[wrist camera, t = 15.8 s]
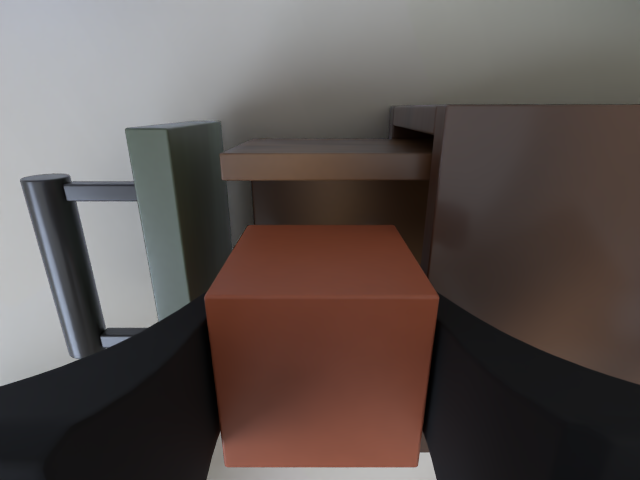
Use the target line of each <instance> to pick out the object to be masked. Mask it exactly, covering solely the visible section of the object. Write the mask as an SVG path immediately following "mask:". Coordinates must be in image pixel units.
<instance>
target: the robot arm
mask: <svg viewBox="0 0 640 480" xmlns="http://www.w3.org/2000/svg"><path fill="white" fill-rule="evenodd" d="M436 292H437V291H436ZM206 293H207V291H206V292H205V293H203V294H202V295H200V296H199V297H197V298H196V299H194V300H193V301H191V302H190V303H188V304H187V305H185V306H184V307H182V308H181V309H179V310H177V311H176V312H174V313H172V314H171V315H169V316H167V317H166V318H164V319H162V320H161V321H159V322H157V323H156V324H154V325H152V326H151V327H149V328H147V329H145V330H143V331H142V332H140V333H138V334H136V335H134V336H132V337H130V338H128V339H126V340H124V341H122V342H119V343H117V344H115V345H113V346H111V347H109V348H106V349H104V350H102V351H99V352H97V353H94V354H92V355H89V356H87V357H84V358H82V359H79V360H77V361H74V362H72V363H69V364H67V365H64V366H62V367H59V368H56V369H53V370H50V371H47V372H44V373H42V374H39V375H36V376H33V377H29V378H26V379H23V380H20V381H17V382H14V383H10V384H7V385H4V386H0V480H206V479H207V475H208V471H209V467H210V463H211V459H212V455H213V452H214V449H215V445H216V442H217V439H218V436H219V433H220V422H219V414H218V406H217V398H216V390H215V382H214V374H213V365H212V357H211V349H210V341H209V333H208V325H207V317H206V309H205V301H204V297H205V294H206ZM437 294H438V295H439V304H438V312H437V320H436V328H435V336H434V343H433V351H432V359H431V367H430V375H429V383H428V391H427V399H426V406H425V414H424V422H423V430H422V431H423V434H424V436H425V439H426V442H427V445H428V449H429V452H430V455H431V458H432V462H433V466H434V470H435V474H436V478H437V480H640V385H639V384H635V383H632V382H629V381H626V380H622V379H619V378H616V377H613V376H609V375H606V374H604V373H601V372H598V371H595V370H592V369H589V368H586V367H583V366H581V365H578V364H575V363H573V362H570V361H568V360H565V359H562V358H560V357H557V356H554V355H552V354H550V353H547V352H545V351H542V350H540V349H538V348H536V347H533V346H531V345H529V344H527V343H525V342H523V341H521V340H518V339H516V338H514V337H512V336H510V335H508V334H506V333H504V332H502V331H500V330H499V329H497V328H495V327H493V326H491V325H490V324H488V323H486V322H484V321H483V320H481V319H479V318H477V317H476V316H474V315H472V314H471V313H469V312H467V311H466V310H464V309H463V308H461V307H460V306H458V305H456V304H455V303H453V302H452V301H450V300H449V299H447V298H446V297H444V296H443V295H441V294H440V293H438V292H437Z"/></svg>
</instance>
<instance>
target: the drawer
mask: <svg viewBox="0 0 640 480" xmlns="http://www.w3.org/2000/svg"><path fill="white" fill-rule="evenodd" d="M125 133H126V139H127V144H128V150H129V156H130V161H131V167H132V173H133V179H134V181H73V182H71V178H70V175H68V174H42V175H34V176H28V177H24V178H22V179H20V182H21V186H22V189H23V193H24V196H25V200H26V203H27V207H28V210H29V214H30V217H31V221H32V224H33V228H34V231H35V235H36V239H37V242H38V246H39V249H40V253H41V256H42V260H43V263H44V267H45V270H46V274H47V277H48V281H49V284H50V288H51V291H52V295H53V299H54V302H55V306H56V309H57V313H58V316H59V320H60V323H61V327H62V330H63V334H64V337H65V341H66V344H67V348H68V351H69V355H70V356H71V357H73V358H77V359H82V358H84V357H87V356H89V355H92V354H94V353H97V352H99V351H102V350H104V349H106V348H109V347H111V346H113V345H115V344H117V343H119V342H122V341H124V340H126V339H128V338H130V337H132V336H134V335H136V334H138V333H140V332H142V331H143V330H145V329H147V328H107V329H106V327H105V322H104V318H103V314H102V310H101V305H100V301H99V297H98V293H97V288H96V284H95V280H94V276H93V271H92V267H91V263H90V258H89V254H88V250H87V246H86V241H85V237H84V233H83V229H82V224H81V220H80V216H79V212H78V207H77V203H76V201H138V207H139V213H140V218H141V224H142V230H143V235H144V241H145V247H146V252H147V258H148V264H149V270H150V275H151V281H152V287H153V292H154V298H155V304H156V309H157V315H158V321H161V320H162V319H164V318H166V317H167V316H169V315H171V314H172V313H174V312H176V311H177V310H179V309H181V308H182V307H184V306H185V305H187V304H188V303H190V302H191V301H193V300H194V299H196V298H197V297H199V296H200V295H202V294H203V293H205V292H206V291H208V290H209V288H210V286H211V285H212V283H213V281H214V280H215V278H216V277H217V275H218V273H219V272H220V270H221V268H222V267H223V265H224V263H225V262H226V260H227V259H228V257H229V255H230V254H231V252H232V242H231V230H230V219H229V208H228V197H227V185H226V181H251V187H252V202H253V217H254V225H394V226H395V227H396V229H397V230H398V232H399V234H400V235H401V237H402V238H403V240H404V241H405V243H406V245H407V246H408V248H409V249H410V251H411V253H412V254H413V256H414V257H415V259H416V260H417V262H418V264H419V265H420V267H421V258H422V248H423V238H424V229H425V219H426V209H427V200H428V190H429V180H430V171H431V161H432V151H433V142H434V139H252V140H248V141H246V142H244V143H242V144H240V145H237V146H235V147H233V148H231V149H229V150H226V151H223V140H222V129H221V122H220V121H189V122H179V123H169V124H160V125H150V126H140V127H131V128H126V129H125Z"/></svg>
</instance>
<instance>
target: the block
mask: <svg viewBox="0 0 640 480" xmlns="http://www.w3.org/2000/svg"><path fill="white" fill-rule="evenodd" d="M204 301H205V309H206V317H207V325H208V333H209V341H210V349H211V357H212V365H213V374H214V382H215V390H216V398H217V406H218V414H219V422H220V430H221V438H222V446H223V454H224V463H225V466H226V467H417V466H418V461H419V454H420V446H421V438H422V430H423V422H424V414H425V406H426V399H427V391H428V383H429V375H430V367H431V359H432V351H433V343H434V336H435V328H436V320H437V312H438V304H439V295H438V294H437V292H436V291H435V289H434V287H433V286H432V284H431V283H430V281H429V280H428V278H427V276H426V275H425V273H424V272H423V270H422V268H421V267H420V265H419V264H418V262H417V260H416V259H415V257H414V256H413V254H412V253H411V251H410V249H409V248H408V246H407V245H406V243H405V241H404V240H403V238H402V237H401V235H400V234H399V232H398V230H397V229H396V227H395V226H394V225H248V226H247V228H246V229H245V231H244V232H243V234H242V236H241V237H240V239H239V241H238V242H237V244H236V245H235V247H234V249H233V250H232V252H231V254H230V255H229V257H228V259H227V260H226V262H225V263H224V265H223V267H222V268H221V270H220V272H219V273H218V275H217V277H216V278H215V280H214V281H213V283H212V285H211V286H210V288H209V290H208V291H207V293H206V294H205V297H204Z"/></svg>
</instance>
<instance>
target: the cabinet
mask: <svg viewBox="0 0 640 480" xmlns="http://www.w3.org/2000/svg"><path fill="white" fill-rule="evenodd" d="M389 139H434V142H433V151H432V161H431V171H430V180H429V190H428V200H427V209H426V219H425V229H424V238H423V248H422V258H421V268H422V270H423V272H424V273H425V275H426V276H427V278H428V280H429V281H430V283H431V284H432V286H433V287H434V289H435V291H437V292H438V293H440V294H441V295H443V296H444V297H446V298H447V299H449V300H450V301H452V302H453V303H455V304H456V305H458V306H460V307H461V308H463V309H464V310H466V311H467V312H469V313H471V314H472V315H474V316H476V317H477V318H479V319H481V320H483V321H484V322H486V323H488V324H490V325H491V326H493V327H495V328H497V329H499V330H500V331H502V332H504V333H506V334H508V335H510V336H512V337H514V338H516V339H518V340H521V341H523V342H525V343H527V344H529V345H531V346H533V347H536V348H538V349H540V350H542V351H545V352H547V353H550V354H552V355H554V356H557V357H560V358H562V359H565V360H568V361H570V362H573V363H575V364H578V365H581V366H583V367H586V368H589V369H592V370H595V371H598V372H601V373H604V374H606V375H609V376H613V377H616V378H619V379H622V380H626V381H629V382H632V383H635V384H639V385H640V104H445V105H410V106H391V109H390V125H389ZM420 452H429V449H428V445H427V442H426V439H425V436H424V434H423V431H422V438H421V446H420Z"/></svg>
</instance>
